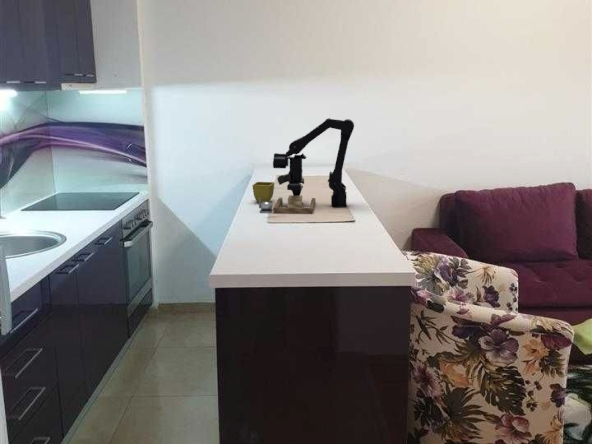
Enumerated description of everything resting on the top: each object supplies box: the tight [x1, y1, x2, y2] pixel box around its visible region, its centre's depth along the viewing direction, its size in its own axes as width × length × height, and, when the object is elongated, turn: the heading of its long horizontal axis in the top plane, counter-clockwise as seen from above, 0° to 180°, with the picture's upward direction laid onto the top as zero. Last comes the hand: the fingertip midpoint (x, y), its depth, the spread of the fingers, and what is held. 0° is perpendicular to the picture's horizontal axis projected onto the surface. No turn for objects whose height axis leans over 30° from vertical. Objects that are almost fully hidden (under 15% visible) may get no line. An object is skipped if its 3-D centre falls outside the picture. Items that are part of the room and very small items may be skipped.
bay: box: [272, 197, 316, 215], centre depth 283 cm, size 17×23×2 cm
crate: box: [287, 194, 303, 208], centre depth 283 cm, size 6×6×5 cm
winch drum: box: [258, 198, 273, 214], centre depth 275 cm, size 6×5×6 cm
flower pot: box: [252, 181, 275, 204], centre depth 295 cm, size 9×9×9 cm
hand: (296, 201), depth 288 cm, fingers closed
